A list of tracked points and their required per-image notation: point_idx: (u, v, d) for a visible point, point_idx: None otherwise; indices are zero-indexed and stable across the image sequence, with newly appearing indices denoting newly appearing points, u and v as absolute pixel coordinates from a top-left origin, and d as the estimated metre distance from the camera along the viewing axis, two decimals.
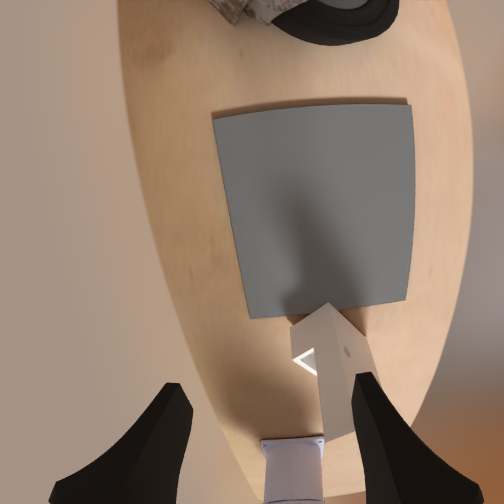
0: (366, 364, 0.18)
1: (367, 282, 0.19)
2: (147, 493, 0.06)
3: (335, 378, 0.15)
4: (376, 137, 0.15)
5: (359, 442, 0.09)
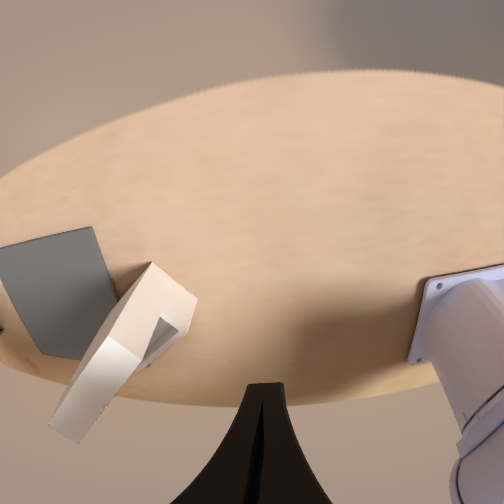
0: (114, 315, 0.14)
1: (82, 276, 0.17)
2: None
3: None
4: (9, 276, 0.18)
5: None
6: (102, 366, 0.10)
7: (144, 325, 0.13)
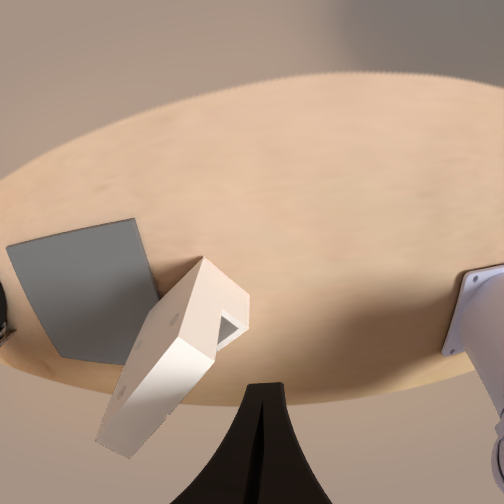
0: (168, 314, 0.13)
1: (119, 273, 0.17)
2: None
3: None
4: (28, 273, 0.18)
5: None
6: (168, 371, 0.10)
7: (210, 323, 0.12)
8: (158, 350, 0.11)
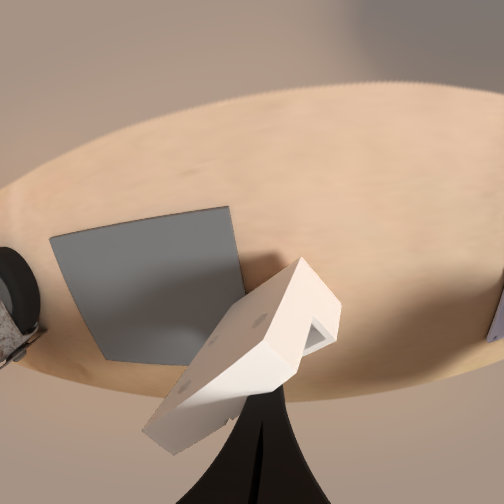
0: (254, 312, 0.13)
1: (202, 265, 0.17)
2: None
3: None
4: (78, 268, 0.18)
5: None
6: (244, 375, 0.09)
7: (299, 329, 0.11)
8: (237, 350, 0.10)
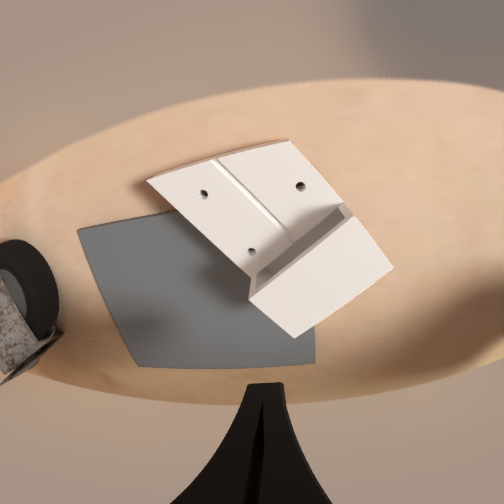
0: None
1: None
2: None
3: None
4: (113, 264, 0.17)
5: None
6: (257, 145, 0.13)
7: (318, 172, 0.12)
8: None
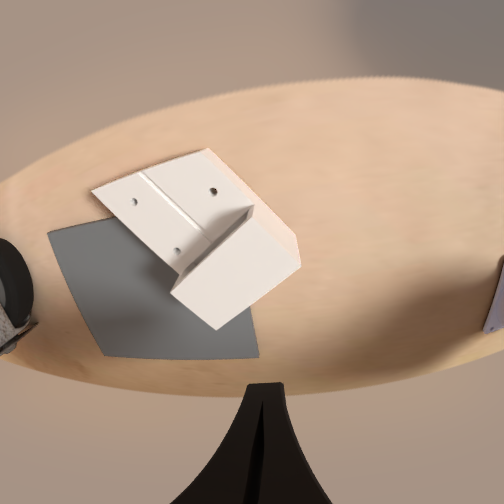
0: None
1: None
2: None
3: None
4: (76, 262, 0.18)
5: None
6: (180, 156, 0.14)
7: (231, 177, 0.14)
8: None
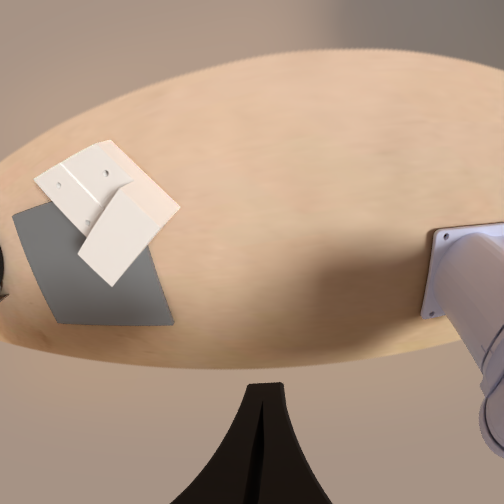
0: None
1: None
2: None
3: None
4: (32, 238, 0.20)
5: None
6: None
7: (120, 161, 0.15)
8: None
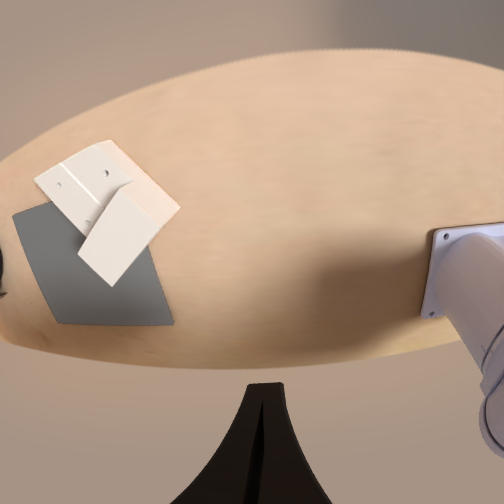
0: None
1: None
2: None
3: None
4: (32, 238, 0.20)
5: None
6: None
7: (120, 161, 0.15)
8: None
